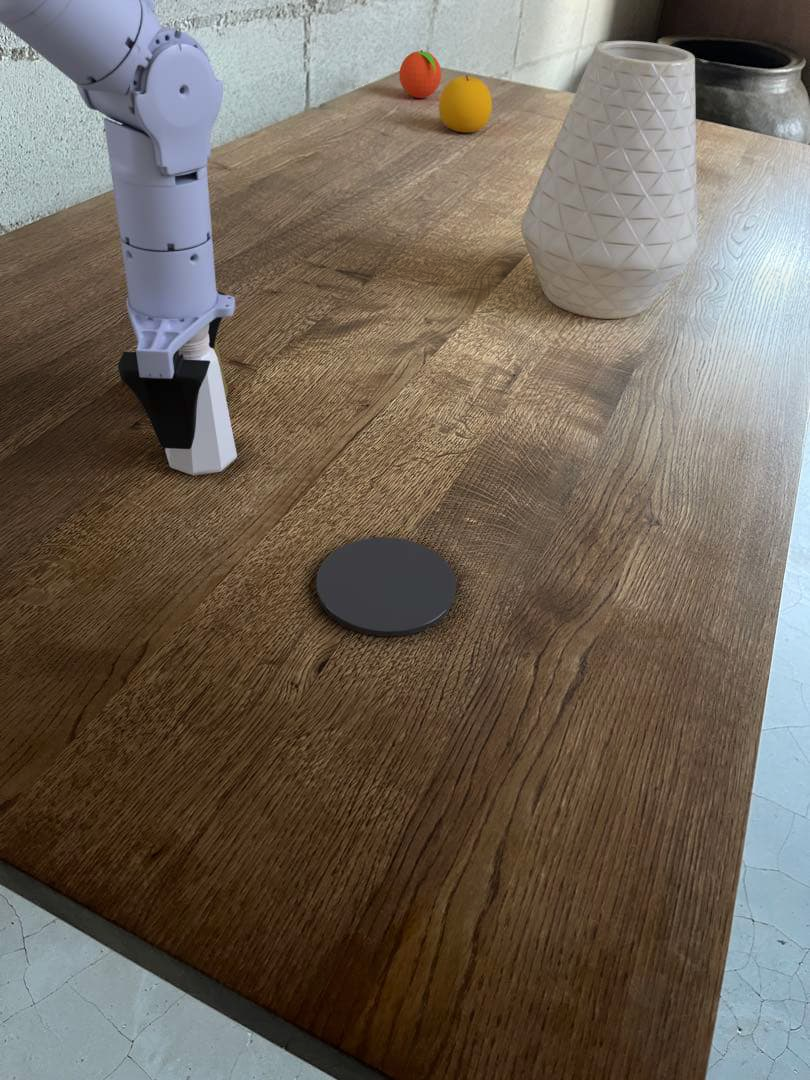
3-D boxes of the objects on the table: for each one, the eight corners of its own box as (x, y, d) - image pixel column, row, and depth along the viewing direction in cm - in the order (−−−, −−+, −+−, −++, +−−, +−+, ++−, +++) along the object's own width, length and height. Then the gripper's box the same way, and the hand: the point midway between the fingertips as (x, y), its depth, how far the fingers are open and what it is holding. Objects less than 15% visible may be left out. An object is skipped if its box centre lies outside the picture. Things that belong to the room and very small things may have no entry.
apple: (463, 140, 136) (468, 85, 131) (426, 127, 140) (430, 73, 135) (499, 132, 140) (506, 78, 135) (463, 119, 144) (468, 67, 140)
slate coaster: (311, 634, 56) (311, 629, 55) (319, 540, 63) (319, 534, 62) (459, 638, 56) (460, 633, 56) (451, 544, 63) (452, 539, 63)
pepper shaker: (174, 433, 72) (157, 301, 65) (243, 438, 72) (234, 307, 65) (156, 474, 67) (137, 337, 60) (230, 479, 67) (219, 343, 60)
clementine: (451, 102, 152) (455, 55, 147) (415, 106, 149) (418, 58, 144) (424, 90, 157) (428, 44, 153) (390, 94, 154) (392, 46, 150)
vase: (590, 349, 86) (644, 83, 72) (479, 279, 97) (506, 36, 83) (715, 312, 94) (788, 66, 80) (600, 252, 105) (645, 25, 91)
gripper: (213, 285, 53) (228, 476, 62) (243, 198, 64) (252, 370, 73) (89, 279, 53) (122, 472, 61) (141, 193, 64) (162, 366, 73)
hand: (186, 417), depth 67 cm, fingers open, 7 cm apart
